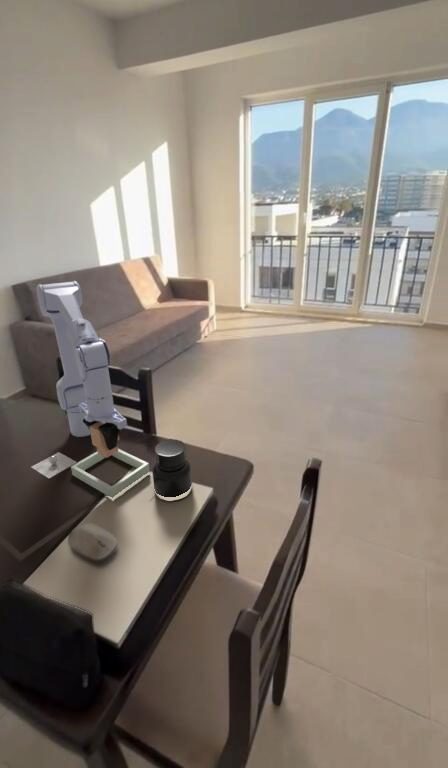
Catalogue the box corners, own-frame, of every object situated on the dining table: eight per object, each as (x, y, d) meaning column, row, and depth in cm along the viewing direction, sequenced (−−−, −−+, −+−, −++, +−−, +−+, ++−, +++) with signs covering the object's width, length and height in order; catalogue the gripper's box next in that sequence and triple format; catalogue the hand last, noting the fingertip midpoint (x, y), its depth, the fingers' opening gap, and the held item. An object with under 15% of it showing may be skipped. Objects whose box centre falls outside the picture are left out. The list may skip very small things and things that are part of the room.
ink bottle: (192, 475, 97) (189, 434, 92) (195, 499, 89) (193, 456, 84) (152, 480, 95) (148, 439, 90) (152, 505, 87) (147, 461, 82)
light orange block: (94, 454, 92) (89, 426, 89) (111, 444, 96) (107, 417, 93) (103, 459, 91) (98, 430, 87) (121, 449, 95) (116, 421, 91)
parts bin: (110, 455, 105) (109, 444, 103) (150, 474, 97) (148, 463, 96) (73, 478, 96) (70, 466, 95) (113, 501, 88) (111, 489, 87)
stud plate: (59, 455, 105) (57, 444, 104) (77, 465, 101) (75, 454, 99) (31, 470, 99) (28, 458, 98) (49, 481, 95) (46, 470, 94)
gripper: (63, 392, 88) (73, 443, 94) (105, 409, 80) (113, 463, 86) (89, 382, 93) (97, 430, 99) (131, 397, 86) (137, 448, 91)
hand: (106, 445), depth 93 cm, fingers closed on light orange block, 3 cm apart
